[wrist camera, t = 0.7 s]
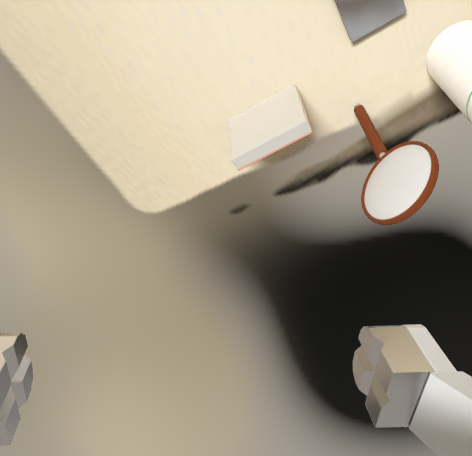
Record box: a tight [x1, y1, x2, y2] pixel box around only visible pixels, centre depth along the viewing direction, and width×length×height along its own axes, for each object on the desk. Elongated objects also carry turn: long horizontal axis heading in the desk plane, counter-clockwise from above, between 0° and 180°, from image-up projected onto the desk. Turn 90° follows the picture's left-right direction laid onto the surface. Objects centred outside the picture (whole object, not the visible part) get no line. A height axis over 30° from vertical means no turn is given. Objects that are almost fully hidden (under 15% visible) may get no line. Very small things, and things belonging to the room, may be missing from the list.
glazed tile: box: [228, 83, 313, 171], centre depth 50 cm, size 9×2×9 cm, turn 121°
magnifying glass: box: [354, 104, 439, 225], centre depth 46 cm, size 9×2×20 cm, turn 146°
